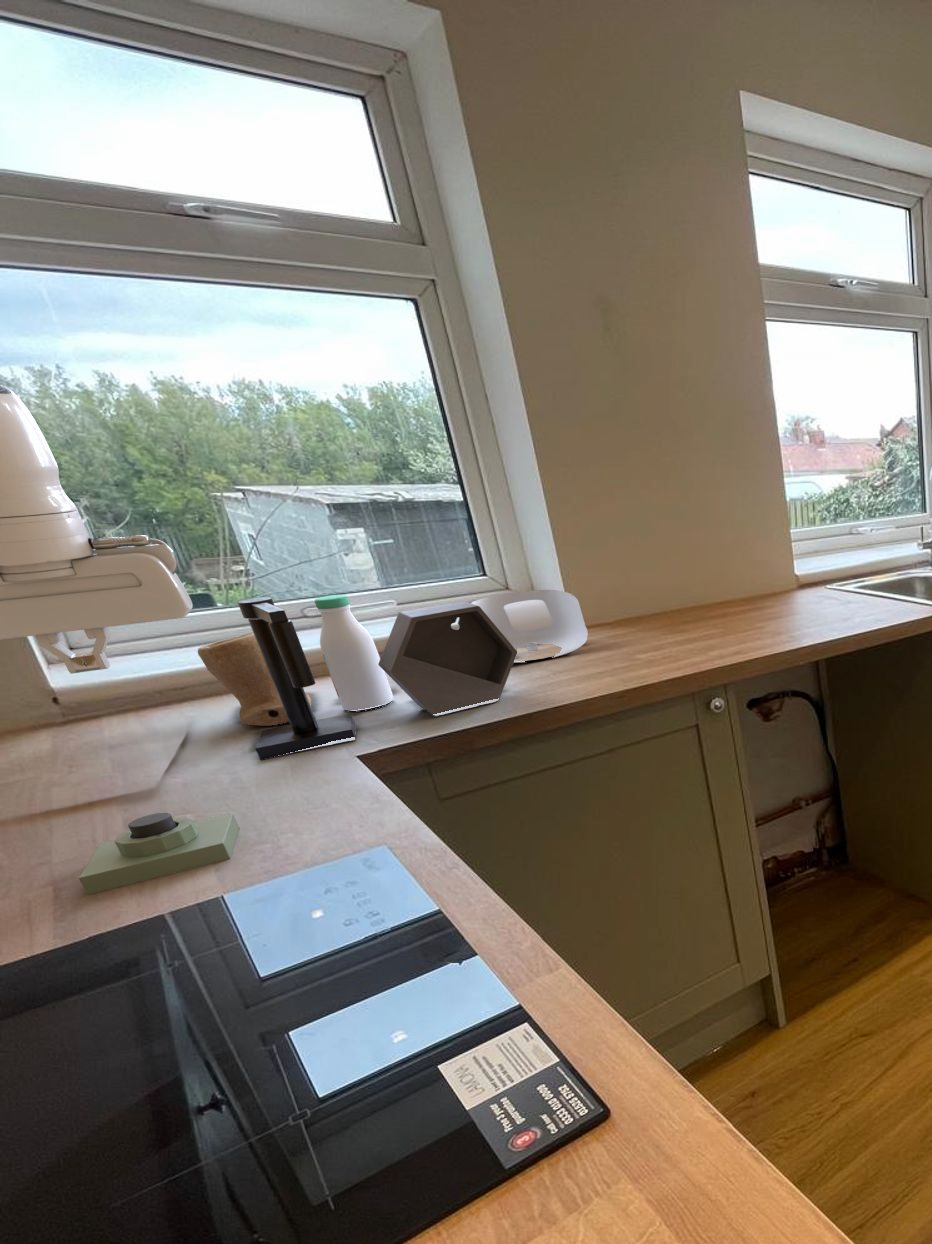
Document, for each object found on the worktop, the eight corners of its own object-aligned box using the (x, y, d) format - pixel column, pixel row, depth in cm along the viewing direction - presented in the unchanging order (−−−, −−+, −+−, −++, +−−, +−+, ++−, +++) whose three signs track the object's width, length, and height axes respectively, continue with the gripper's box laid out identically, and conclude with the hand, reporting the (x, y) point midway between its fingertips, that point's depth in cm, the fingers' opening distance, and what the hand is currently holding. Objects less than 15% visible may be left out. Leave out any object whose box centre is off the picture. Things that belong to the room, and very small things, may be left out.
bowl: (570, 636, 192) (558, 586, 187) (593, 651, 178) (581, 597, 174) (474, 653, 180) (458, 600, 176) (491, 670, 166) (474, 614, 162)
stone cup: (232, 715, 146) (196, 634, 140) (315, 700, 152) (284, 621, 147) (224, 738, 135) (186, 651, 129) (314, 720, 141) (282, 636, 135)
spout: (264, 673, 127) (234, 601, 122) (295, 667, 130) (268, 596, 125) (290, 690, 118) (259, 612, 114) (323, 683, 121) (294, 607, 116)
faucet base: (260, 760, 125) (204, 630, 117) (265, 741, 132) (213, 618, 124) (355, 740, 131) (309, 616, 123) (355, 724, 139) (312, 606, 131)
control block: (87, 895, 89) (70, 863, 88) (108, 859, 97) (92, 830, 95) (230, 859, 96) (216, 829, 94) (239, 828, 103) (227, 800, 101)
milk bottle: (405, 699, 150) (368, 592, 143) (365, 714, 144) (324, 602, 136) (373, 697, 152) (335, 591, 145) (332, 711, 146) (290, 601, 138)
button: (131, 843, 92) (124, 829, 92) (137, 831, 95) (131, 818, 94) (174, 833, 94) (167, 820, 94) (179, 822, 97) (172, 809, 96)
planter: (378, 703, 134) (424, 586, 135) (366, 694, 138) (410, 581, 139) (487, 730, 147) (528, 623, 148) (473, 721, 152) (513, 618, 153)
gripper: (170, 530, 93) (218, 647, 98) (-105, 551, 82) (-34, 682, 87) (159, 535, 88) (211, 658, 93) (-134, 558, 77) (-57, 696, 82)
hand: (90, 670), depth 90 cm, fingers closed
